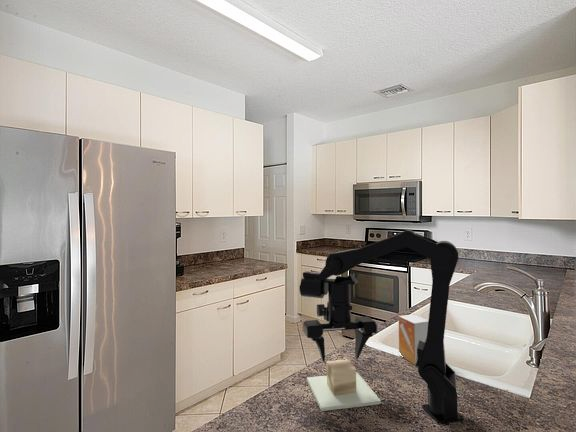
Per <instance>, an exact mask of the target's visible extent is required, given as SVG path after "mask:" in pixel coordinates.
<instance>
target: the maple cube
mask: <svg viewBox="0 0 576 432" xmlns="http://www.w3.org/2000/svg"><path fill="white" fill-rule="evenodd" d="M356 372H357V369H356V367H355V366H354V365H353V364H352V362H351V361H350V360H349V359H347V358H346V359H336V360H328V361H327V360H326V376H327V385H328V386H329V388H330V390H331V391H332V393H333V395H343V394H352V393H356Z"/></svg>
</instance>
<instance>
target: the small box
mask: <svg viewBox="0 0 576 432" xmlns="http://www.w3.org/2000/svg"><path fill="white" fill-rule="evenodd" d="M428 321H429V319H426V318H424V317H421V316H419V315H416V314H405V315H398V353H399V352H400V353H401V355H402V356H403V357H404V359H405V360H406V361H408V362H410V363H411V364H412V365H414V366H415V363H416V359H417V347H418V342H419V340H420V341H422V342H425V340H426V337H427V330H428ZM402 356H401V357H402ZM403 357H402V358H403Z"/></svg>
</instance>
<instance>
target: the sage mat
mask: <svg viewBox="0 0 576 432" xmlns="http://www.w3.org/2000/svg"><path fill="white" fill-rule="evenodd" d="M306 382H307V384H308V386H309V388H310V390H311V392H312V394H313V397H314V399H315V401H316V403H317V406H318V407H319V409H320V412H325V411H326V412H327V411H334V410H343V409H351V408H360V407H365V406H366V407H368V406H375V405H381V404H382V401H381V399H380V398H379V397H378V396H377V394H376V393H375V391H373V390H372V388H371V387H370V386H369V384H368V383H367V382H366V380H364V378H363V377H362V376H361V375H360V374H359V372H357V371H356V393H352V394H343V395H333V393H332V391H331V390H330V388H329V386H328V385H327V375H318V376H309V377H306Z"/></svg>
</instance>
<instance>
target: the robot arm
mask: <svg viewBox="0 0 576 432" xmlns="http://www.w3.org/2000/svg"><path fill="white" fill-rule="evenodd" d="M406 248H407V249H410V250H411V251H414V252H416V253H417V254H419V255H421V256H423V257H426V258H428V259H429V260H430V271H431V280H432V283H431V284H432V285H431V293H430V294H431V296H430V301H429V302H430V303H429V313H428V320H429V321H428V330H427V337H426V340H425V342H422V341H420V340H419V342H418V347H417V359H416V363H415V365H414V366H415V368H416V367H417V372H418V376H419V377H420V378H421V379H422V380H423V381H424V382H425V383H426V385H427V404H422V407H421V408H422V409H423V410H425V411H426V412H427V414H428V415H429V416H430V417H431V418H433V420H434V421H436V423H438V424H443V423H444V424H445V423H451V422H452V423H453V422H457V421H458V422H459V421H464V420H465V416H463V415H462V414H461V413H460V412H459V411H458V410H459V409H458V392H457V390H458V389H457V377H456V376H457V375H456V372H455V370H454V369H452V367H450V366H449V364H448V363H447V361H446V350H445V342H444V341H445V340H444V339H445V331H446V322H447V312H448V303H449V294H450V293H449V292H450V286H451V282H452V279H453V276H454V273H455V270H456V267H457V263H458V260H459V251H458V249H457V247H456V245H455V244H453V243H452V242H450V241H448V240H441V241H440V240H439V241H437V240H436V239H432V238H429V237H427V236H424V235H421V234H419V233H416V232H415V231H413V230H412V229H407V230H403V231H401V232H400V233H398V234H395V235H393V236H390V237H387V238H384V239H382V240H379V241H376V242H373V243H371V244H367V245H365V246H363V247H359V248H351V249H347V250H346V249H345V250H340V251H336V252H333V253H331V254H329V255H328V256H327V257H326V260H325V266H324V267H323V269H321V270H320V272H313V271H312V272H311V271H309V270H308V271H304V272H302V278H301V280H300V284H299V294H300V296H301V297H304V298H305V297H306V298H315V299H324V297H325V296H327V295H328V301H326V302H327V303H326V305H325V304H324V303H323V304H322V303H321V304H316V315H317V317H323V320H324V321H326V323H321V322H320V321H319V320H318V319H312V320H311V319H310V320H304V321H303V323H302V331H303V333H304V335H305V336H306V338H308V339H310V340H311V341H313V342H315V343H316V345H317V349H318V352H319V355H320V359H321V361H322V362H323V363H324V362H325V359H326V351H325V349H326V348H325V338H324V337H323V335H324V332H334V331H347V330H354V333H355V338H354V339H355V343H354V344H355V345H354V354H355V355H354V356H355V358H356V359H359V358H360V356H361V353H362V351H363V350H364V348H365V345H366V343H367V342H368V340H369V338H370V337H373V335H374V334H377V333H378V324H377V322H376V321H375V320H374V319H372V318H371V317H369V316H356V317H355V319H354V321H352V316H351V314H352V312H351V311H352V310H353V305H351V285H353V286H355V285H356V284H357V283H359V280H358V279H357V278H356V277H355V276H354V275H353V273H350V274H348V275H347V276H344V275H343V274H345V273H346V272H348V271H350V270H351V269H354V268H356V267H357V266H359V265H361V264H362V263H365V262H369V261H370V260H374V259H376V258H379V257H382V256H385V255H388V254H391V253H394V252H397V251H400V250H402V249H406ZM342 275H343V276H342ZM332 276H336V277H335V278H330V277H332ZM327 322H328V323H327Z"/></svg>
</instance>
